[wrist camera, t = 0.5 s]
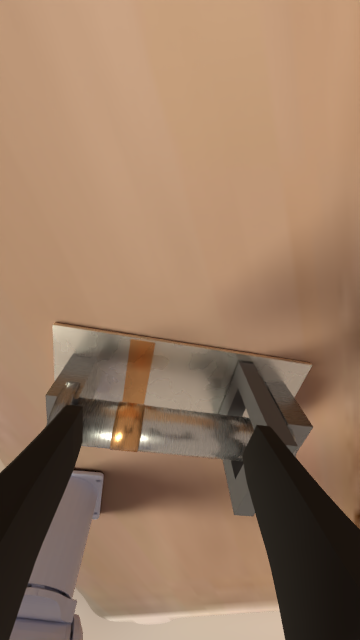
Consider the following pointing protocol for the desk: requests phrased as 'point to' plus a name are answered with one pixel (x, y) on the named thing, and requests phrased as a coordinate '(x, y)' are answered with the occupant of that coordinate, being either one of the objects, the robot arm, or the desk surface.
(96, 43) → the desk surface
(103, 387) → the rail
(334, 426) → the desk surface
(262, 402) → the collar
